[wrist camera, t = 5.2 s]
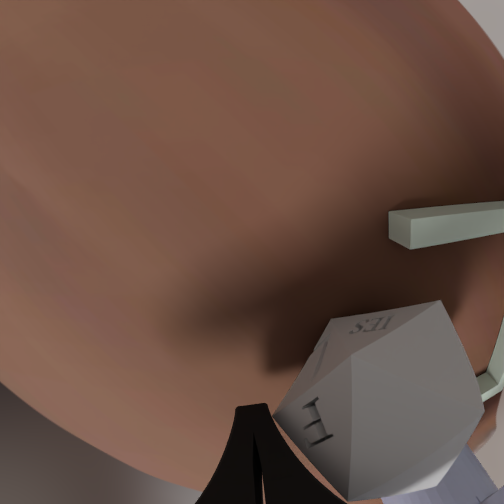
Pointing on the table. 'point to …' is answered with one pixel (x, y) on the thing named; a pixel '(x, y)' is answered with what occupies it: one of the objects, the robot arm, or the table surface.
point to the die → (384, 402)
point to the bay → (451, 230)
